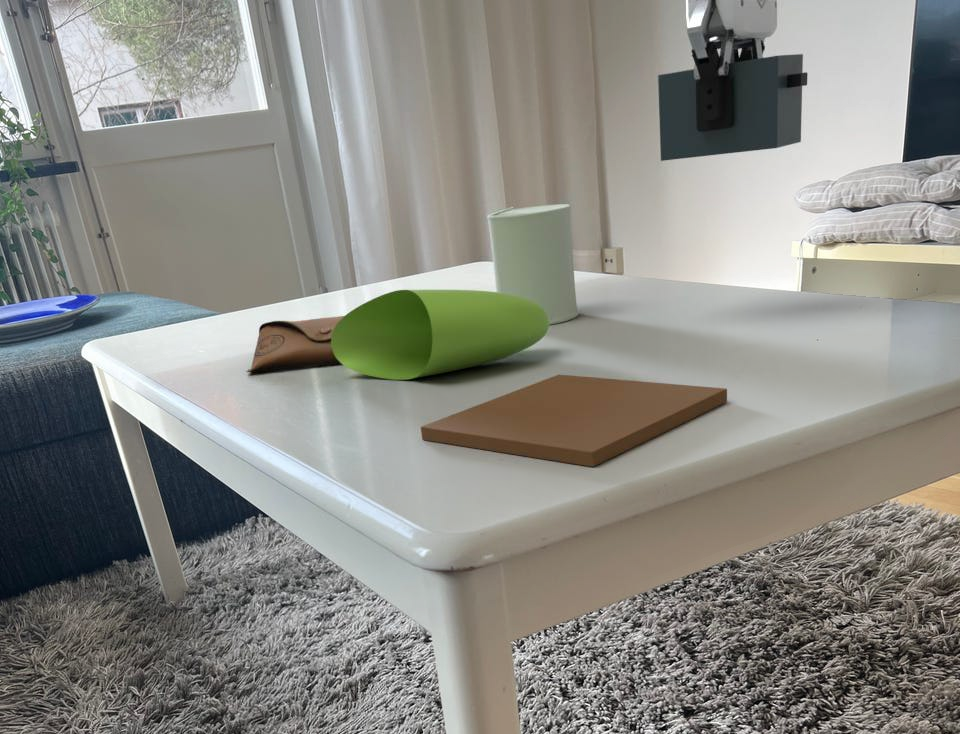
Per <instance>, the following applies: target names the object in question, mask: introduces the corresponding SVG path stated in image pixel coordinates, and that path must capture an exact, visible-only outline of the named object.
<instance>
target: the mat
mask: <svg viewBox="0 0 960 734" xmlns="http://www.w3.org/2000/svg"><path fill="white" fill-rule="evenodd" d="M727 402H728V389H727V388H724V387H714V386H712V387H711V386H701V385H700V386H699V385H689V384H688V385H687V384H677V383H667V382H666V383H664V382H655V381H654V382H653V381H652V382H651V381H640V380H629V379H618V378H605V377H592V376H581V375H571V374H570V375H569V374H556V375H553V376H551V377H549V378H546V379H543V380H540V381H537V382H535V383H533V384H530V385H528V386H525V387H521V388H519V389H517V390H514V391H511V392H508V393H506V394H504V395H501V396H498V397H496V398H493V399H491V400H487V401H485V402H483V403H482V402H481V403H479V404H477V405H475V406H471V407H469V408H466V409H464V410H462V411H459V412H455V413H453V414H451V415H448V416H445V417H442V418H440V419H438V420H435V421H433V422H429V423H427V424H425V425H422V426H420V433H421V439H422V440H423V441H427V442H435V443H442V444H447V445H453V446H460V447H467V448H472V449H478V450H485V451H491V452H497V453H502V454H510V455H516V456H522V457H529V458H533V459H534V458H535V459H542V460H547V461H554V462H560V463H566V464H573V465H578V466H585V467H592V468H594V467H596V466H598V465H600V464H602V463H604V462H606V461H609V460H610V459H612V458H614V457H616V456H619V455H621V454H622V453H625V452H627V451H629V450H632V449H633V448H635V447H637V446H639V445H641V444H643V443H645V442H647V441H650V440H652V439H653V438H656V437H658V436H660V435H662V434H664V433H666V432H668V431H670V430H673V429H675V428H677V427H678V426H680V425H682V424H684V423H687V422H689V421H691V420H693V419H695V418H696V417H699V416H701V415H703V414H705V413H708V412H709V411H711V410H714V409H715V408H718V407H720V406H721V405H724V404H725V403H727Z"/></svg>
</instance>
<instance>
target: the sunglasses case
mask: <svg viewBox="0 0 960 734" xmlns="http://www.w3.org/2000/svg"><path fill="white" fill-rule="evenodd" d="M344 316H345V315H340V316H330V317H320V318H319V317H318V318H311V319H302V320H296V321H295V320H293V321H292V320H271V321H267V322H264V323H262V324H261V325H260V326H259V327H258V337H257V340H256V344H255V345H256V346H255V350H254V353H253V357H252V362H251V367H250V368H249V369H247V371H246V373H254V372H260V371H268V370H269V371H270V370H279V369H281V370H282V369H299V368H300V369H301V368H308V367H322V366H335V365H337V366H339V365H342V364H341V363H340V362H339V361H338V360H337V358H336V357H335V355H334V353H333V350H332V345H331V337H332V332H333V330H334V328H335V326H336V325H337V323H338V322H339V321H340V320H341V319H342V318H343V317H344Z"/></svg>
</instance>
